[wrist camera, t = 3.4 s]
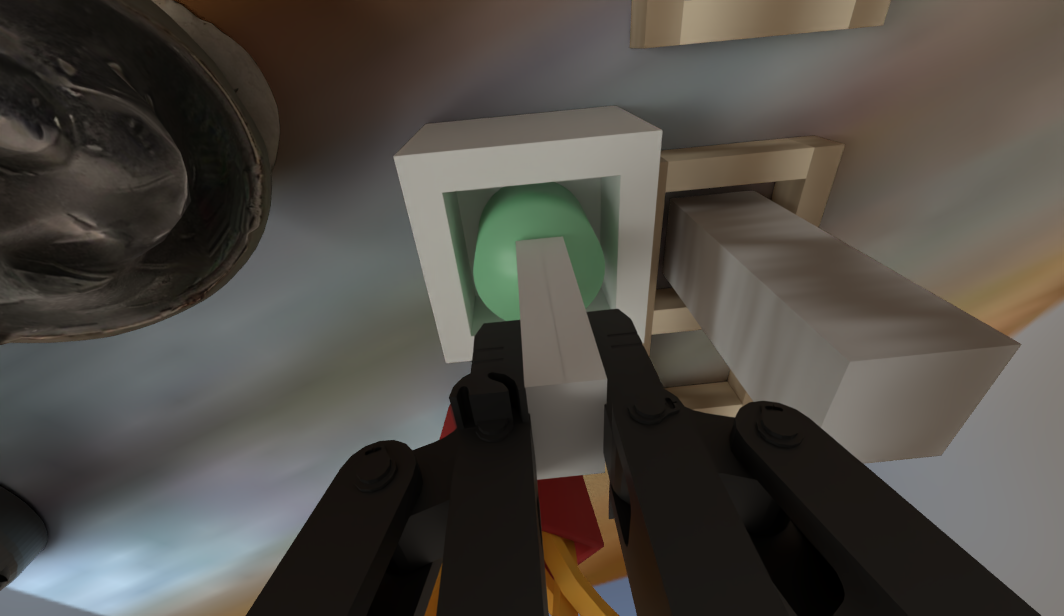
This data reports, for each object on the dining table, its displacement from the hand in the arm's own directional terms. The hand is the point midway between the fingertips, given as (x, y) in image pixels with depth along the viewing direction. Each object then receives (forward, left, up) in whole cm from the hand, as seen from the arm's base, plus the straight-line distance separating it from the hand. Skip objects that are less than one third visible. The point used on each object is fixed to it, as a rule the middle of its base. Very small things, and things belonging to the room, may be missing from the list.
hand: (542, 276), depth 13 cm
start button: (0, 0, -4) cm, 4 cm away
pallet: (+9, -6, -7) cm, 13 cm away
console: (0, 0, -7) cm, 7 cm away
